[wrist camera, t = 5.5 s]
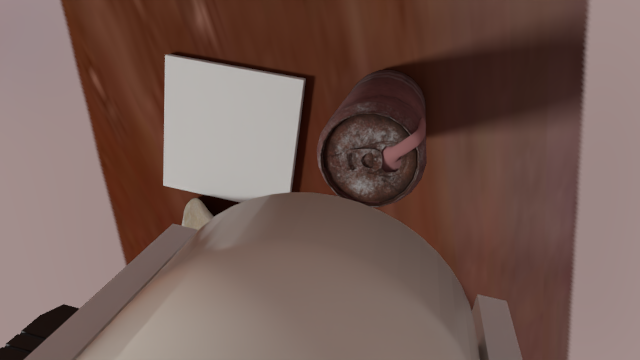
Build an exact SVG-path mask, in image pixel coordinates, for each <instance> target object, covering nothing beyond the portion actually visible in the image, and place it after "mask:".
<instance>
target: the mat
mask: <svg viewBox="0 0 640 360" xmlns="http://www.w3.org/2000/svg"><path fill="white" fill-rule="evenodd" d="M305 83H306V78H300V77H294V76H289V75H283V74H278V73H272V72H267V71H261V70H256V69H250V68H245V67H239V66H234V65H228V64H222V63H217V62H211V61H206V60H200V59H195V58H189V57H184V56H178V55H173V54H168V55H165V105H164V178H163V186H168V187H172V188H177V189H181V190H186V191H190V192H195V193H199V194H204V195H208V196H213V197H217V198H222V199H227V200H231V201H236V202H240V203H242V202H245V201H247V200H250V199H253V198H257V197H262V196H266V195H270V194H279V193H289V192H292V184H293V177H294V169H295V161H296V153H297V145H298V137H299V130H300V122H301V114H302V106H303V98H304V91H305Z"/></svg>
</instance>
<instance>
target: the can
mask: <svg viewBox="0 0 640 360" xmlns="http://www.w3.org/2000/svg"><path fill="white" fill-rule="evenodd" d="M317 157H318V166H319V169H320V171H321V173H322V175H323V178H324V180H325V181H326V183H327V184H328V185H329V186H330V188H331V189H332V190H333V191H334V192H335V193H336V194H337V195H338V196H339V197H342V198H345V199H349V200H353V201H356V202H360V203H362V204H365V205H367V206H370V207H381V206H384V205H388V204H391V203H394V202H398V201H399V200H401V199H402V198H403V197H405V196H406V195H408V194H409V193H411V192H412V190H413V189H414V188H415V187H416V185H417V184H418V183H419V181H420V180H421V178H422V175H423V172H424V169H425V166H426V112H425V98H424V96H423V93H422V90H421V88H420V87H419V86H418V85H417V83H416V82H415V81H414V80H413V79H412V78H410V77H409V76H407V75H406V74H404V73H402V72H398V71H394V70H379V71H376V72H374V73H371V74H369V75H367V76H365V77H364V78H363V79H362V80H361V81H359V82H358V83H357V84H356V86H355V87H354V88H353V90H352V91H351V92H350V94H349V95H348V96H347V97H346V99H345V100H344V101H343V103H342V104H341V105H340V107H339V108H338V109H337V110H336V112H335V113H334V114H333V116H332V117H331V118H330V120H329V121H328V123H327V124H326V126H325V128H324V129H323V131H322V132H321V134H320V138H319V142H318V147H317Z"/></svg>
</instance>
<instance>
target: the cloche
mask: <svg viewBox="0 0 640 360" xmlns="http://www.w3.org/2000/svg"><path fill="white" fill-rule="evenodd" d="M75 360H480V357H479V350H478V343H477V337H476V330H475V324H474V320H473V316H472V312H471V308H470V304H469V302H468V300H467V297H466V295H465V293H464V290H463V288H462V286H461V284H460V283H459V281H458V279H457V278H456V276H455V275H454V273H453V271H452V270H451V268H450V267H449V266H448V264H447V263H446V262H445V261H444V260H443V258H442V257H441V256H440V255H439V254H438V252H437V251H436V250H435V249H434V248H433V247H431V246H430V245H429V244H428V243H427V242H426V241H425V240H424V239H423V238H422V237H421V236H419V235H418V234H417V233H415V232H414V231H413V230H411V229H410V228H408V227H407V226H406V225H404V224H403V223H401V222H400V221H398V220H396V219H394V218H392V217H391V216H389V215H387V214H385V213H383V212H382V211H379V210H377V209H374V208H372V207H370V206H367V205H365V204H362V203H360V202H356V201H353V200H349V199H345V198H342V197H338V196H332V195H326V194H319V193H303V192H289V193H279V194H270V195H266V196H262V197H257V198H253V199H250V200H247V201H245V202H242V203H239V204H237V205H234V206H232V207H230V208H228V209H227V210H225V211H223V212H221V213H220V214H218V215H216V216H215V217H214V218H212V219H211V220H210V221H209V222H207V223H206V224H205V225H204V226H202V227H201V228H200V229H199V230H198V231H197V233H196V234H195V235H194V236H193V237H192V238H191V239H190V240H189V241H188V242H187V243H186V244H185V245H184V246H183V247H182V248H181V249H180V250H179V251H178V252H177V254H176V255H175V256H174V257H173V258H172V259H171V260H170V261H169V262H168V263H167V264H166V265H165V266H164V267H163V268H162V269H161V270H160V271H159V272H158V273H157V274H156V276H155V277H154V278H153V279H152V280H151V281H150V282H149V283H148V284H147V285H146V286H145V287H144V288H143V289H142V290H141V291H140V292H139V293H138V294H137V295H136V296H135V298H134V299H133V300H132V301H131V302H130V303H129V304H128V305H127V306H126V307H125V308H124V309H123V310H122V311H121V312H120V313H119V314H118V315H117V316H116V317H115V319H114V320H113V321H112V322H111V323H110V324H109V325H108V326H107V327H106V328H105V329H104V330H103V331H102V332H101V333H100V334H99V335H98V336H97V337H96V338H95V339H94V341H93V342H92V343H91V344H90V345H89V346H88V347H87V348H86V349H85V350H84V351H83V352H82V353H81V354H80V355H79V356H78V357H77V358H76V359H75Z"/></svg>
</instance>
